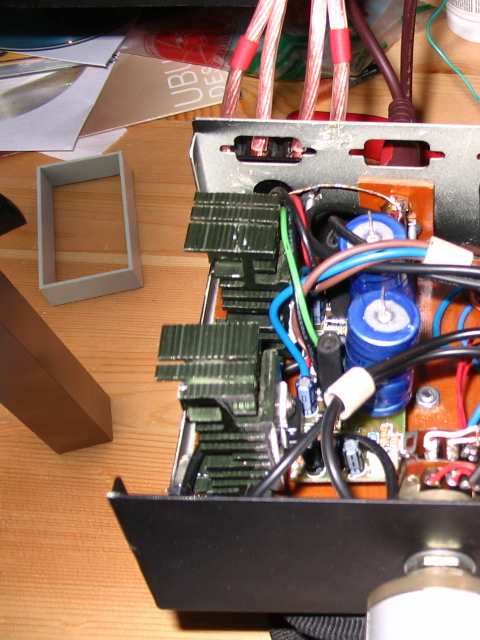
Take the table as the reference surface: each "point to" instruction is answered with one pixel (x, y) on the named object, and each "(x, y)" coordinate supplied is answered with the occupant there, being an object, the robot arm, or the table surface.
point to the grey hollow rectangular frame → (46, 244)
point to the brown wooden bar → (47, 380)
